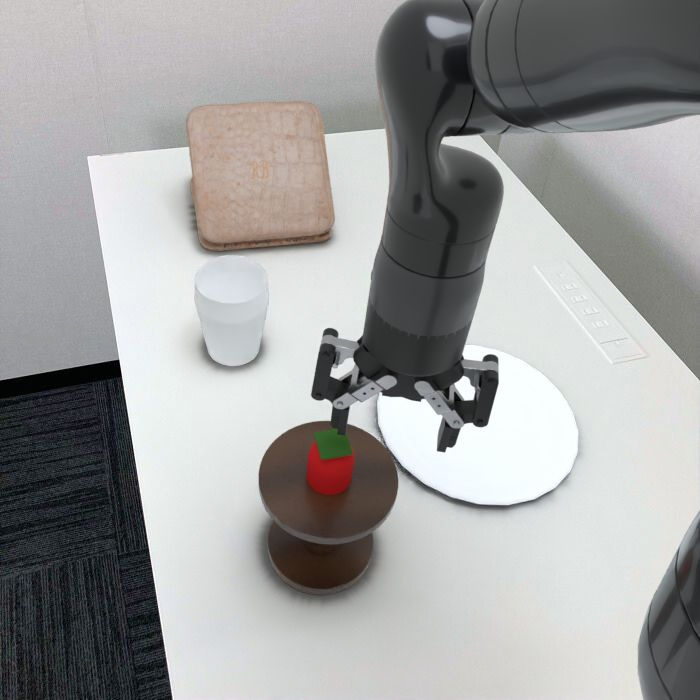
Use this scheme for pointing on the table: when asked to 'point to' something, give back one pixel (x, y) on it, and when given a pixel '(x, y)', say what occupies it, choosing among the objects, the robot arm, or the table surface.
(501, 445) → the plate
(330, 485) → the strawberry
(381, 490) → the stand
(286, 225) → the case
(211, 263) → the cup
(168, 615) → the table surface
